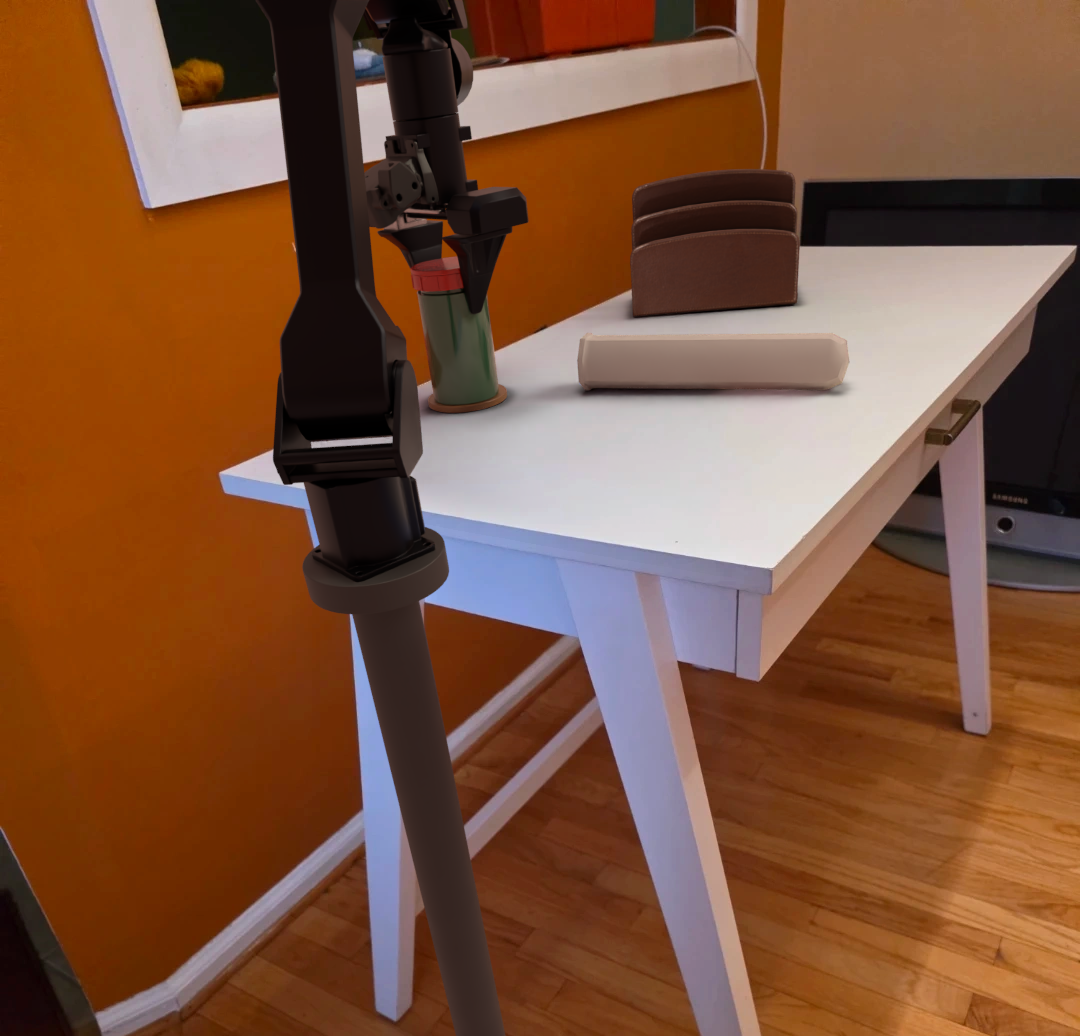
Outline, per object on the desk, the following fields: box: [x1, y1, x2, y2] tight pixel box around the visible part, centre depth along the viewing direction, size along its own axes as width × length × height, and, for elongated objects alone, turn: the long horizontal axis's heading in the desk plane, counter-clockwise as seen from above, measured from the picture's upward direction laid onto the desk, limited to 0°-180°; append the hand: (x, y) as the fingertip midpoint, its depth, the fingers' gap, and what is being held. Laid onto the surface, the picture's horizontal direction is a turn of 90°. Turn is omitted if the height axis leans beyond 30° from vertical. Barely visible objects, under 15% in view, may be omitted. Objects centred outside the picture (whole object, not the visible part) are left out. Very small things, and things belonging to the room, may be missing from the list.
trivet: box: [427, 383, 508, 414], centre depth 96 cm, size 8×8×1 cm
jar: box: [416, 288, 499, 405], centre depth 92 cm, size 7×7×11 cm
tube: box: [576, 332, 850, 392], centre depth 89 cm, size 5×5×25 cm
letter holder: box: [629, 168, 801, 318], centre depth 115 cm, size 10×20×14 cm, turn 82°
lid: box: [409, 256, 464, 291], centre depth 89 cm, size 7×7×2 cm
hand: (454, 309), depth 91 cm, fingers closed on lid, 7 cm apart
